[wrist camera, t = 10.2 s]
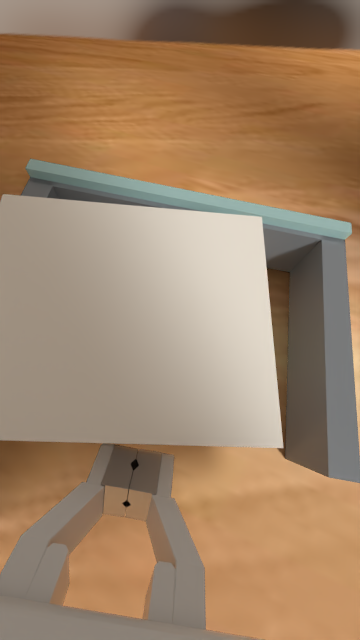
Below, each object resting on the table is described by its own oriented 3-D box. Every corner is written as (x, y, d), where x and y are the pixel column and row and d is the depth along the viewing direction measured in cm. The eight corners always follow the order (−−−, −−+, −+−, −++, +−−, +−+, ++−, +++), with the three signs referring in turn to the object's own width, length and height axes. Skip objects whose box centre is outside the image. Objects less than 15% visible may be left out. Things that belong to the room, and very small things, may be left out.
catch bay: (308, 259, 20) (350, 218, 15) (309, 462, 15) (372, 487, 10) (61, 210, 19) (32, 154, 15) (-22, 402, 14) (-101, 401, 10)
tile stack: (225, 283, 18) (262, 215, 12) (230, 429, 15) (284, 449, 8) (61, 272, 18) (2, 192, 11) (27, 423, 14) (-87, 440, 8)
